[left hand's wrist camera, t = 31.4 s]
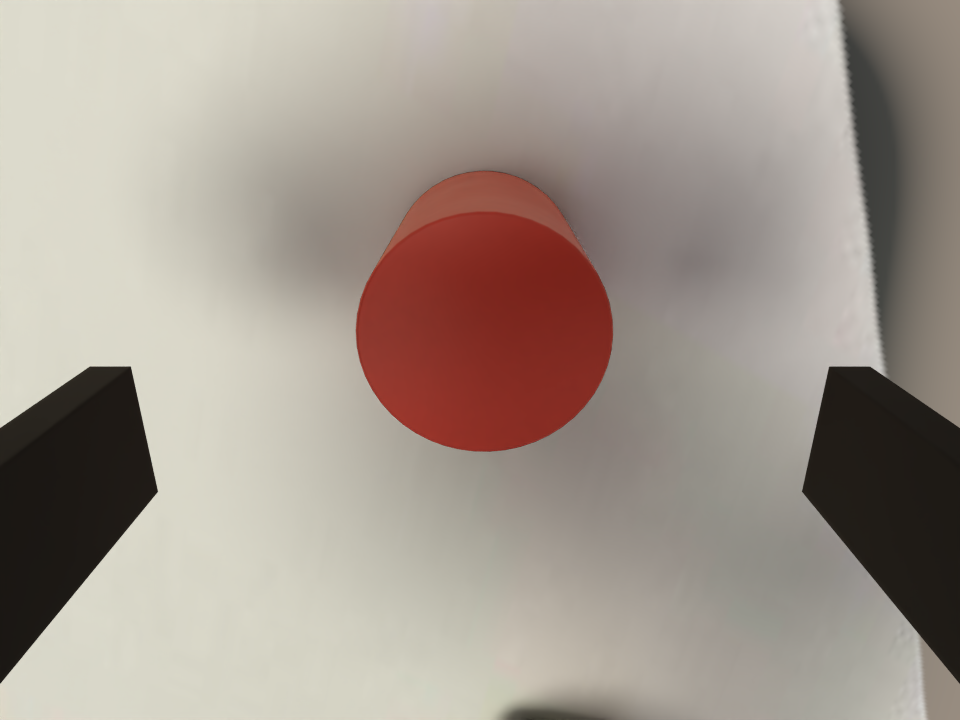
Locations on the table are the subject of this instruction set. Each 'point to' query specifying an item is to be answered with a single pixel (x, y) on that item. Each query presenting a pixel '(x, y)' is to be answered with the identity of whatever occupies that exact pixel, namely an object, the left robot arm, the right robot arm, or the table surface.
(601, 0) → the table surface
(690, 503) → the table surface
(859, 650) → the table surface
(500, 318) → the can
